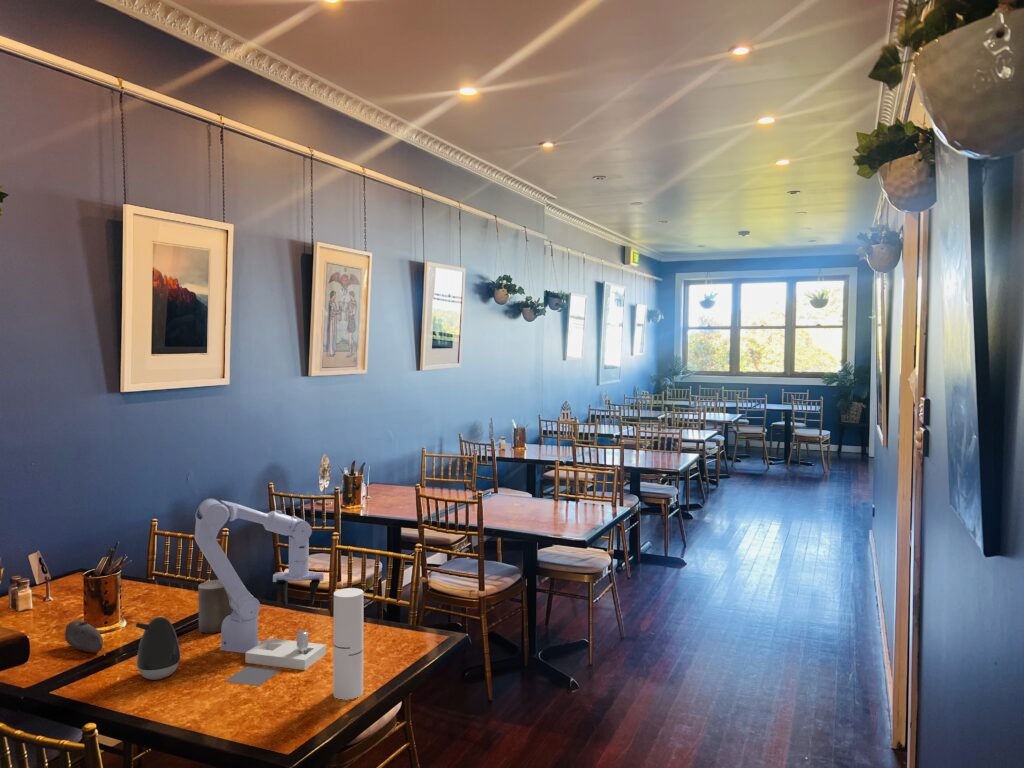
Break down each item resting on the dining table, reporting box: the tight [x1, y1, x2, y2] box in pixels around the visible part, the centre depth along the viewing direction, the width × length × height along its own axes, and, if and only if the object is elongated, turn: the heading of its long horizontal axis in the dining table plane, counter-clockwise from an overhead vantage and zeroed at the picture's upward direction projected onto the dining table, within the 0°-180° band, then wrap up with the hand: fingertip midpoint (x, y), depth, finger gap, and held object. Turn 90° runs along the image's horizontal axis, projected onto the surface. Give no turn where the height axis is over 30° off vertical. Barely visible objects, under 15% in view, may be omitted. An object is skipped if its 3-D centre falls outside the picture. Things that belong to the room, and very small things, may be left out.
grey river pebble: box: [64, 620, 104, 654], centre depth 200 cm, size 15×5×7 cm, turn 57°
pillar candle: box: [197, 579, 233, 634], centre depth 218 cm, size 10×10×15 cm
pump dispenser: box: [135, 616, 182, 681], centre depth 184 cm, size 10×10×15 cm
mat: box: [224, 664, 282, 687], centre depth 184 cm, size 10×10×1 cm
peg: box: [296, 630, 309, 655], centre depth 193 cm, size 3×3×8 cm
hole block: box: [244, 637, 327, 671], centre depth 195 cm, size 18×11×3 cm, turn 75°
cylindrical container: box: [332, 587, 365, 701], centre depth 174 cm, size 7×7×25 cm
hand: (298, 604), depth 212 cm, fingers open, 7 cm apart
